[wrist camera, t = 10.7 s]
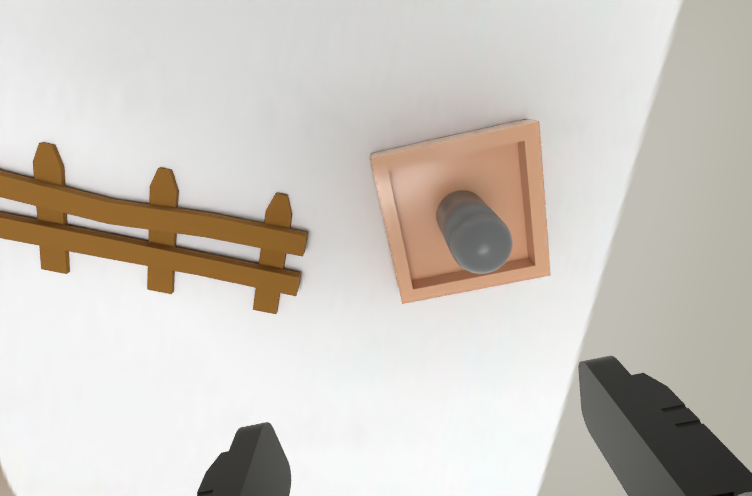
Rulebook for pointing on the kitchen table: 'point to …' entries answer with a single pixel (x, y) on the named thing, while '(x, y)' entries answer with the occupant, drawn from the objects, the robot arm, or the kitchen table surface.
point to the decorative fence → (150, 231)
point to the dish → (471, 173)
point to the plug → (473, 232)
